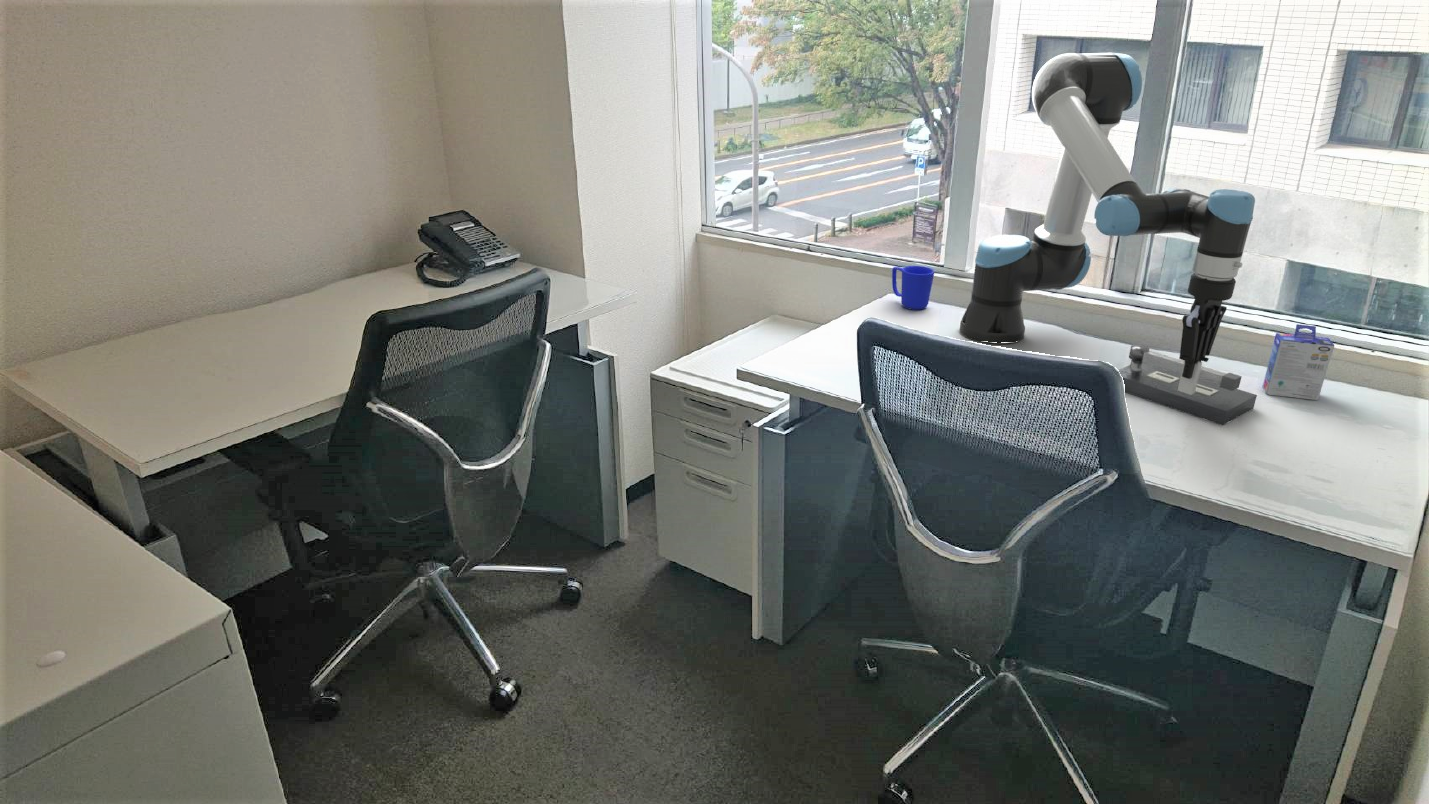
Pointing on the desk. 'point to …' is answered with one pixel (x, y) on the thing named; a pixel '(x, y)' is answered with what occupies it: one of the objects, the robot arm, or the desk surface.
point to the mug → (914, 286)
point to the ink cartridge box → (1298, 364)
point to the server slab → (1202, 404)
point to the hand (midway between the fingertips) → (1186, 391)
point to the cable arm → (1174, 364)
